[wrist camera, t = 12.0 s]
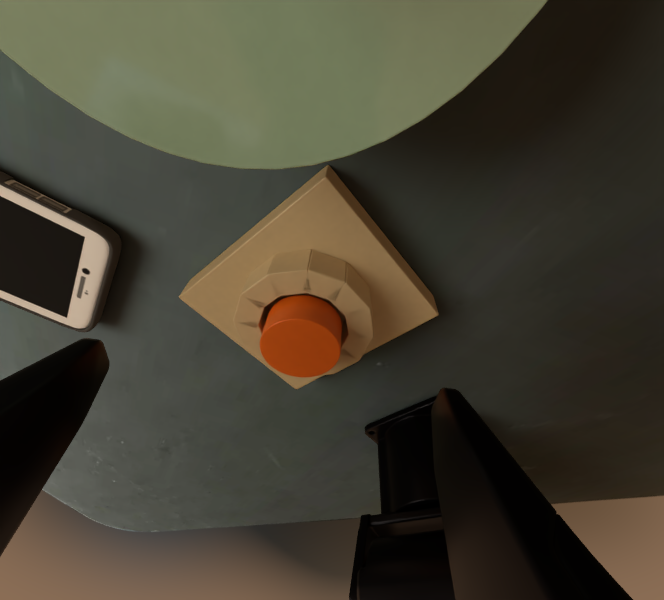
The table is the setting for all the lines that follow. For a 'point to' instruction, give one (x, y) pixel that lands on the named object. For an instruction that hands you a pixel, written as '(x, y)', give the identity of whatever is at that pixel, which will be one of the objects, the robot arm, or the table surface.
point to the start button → (302, 336)
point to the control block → (313, 274)
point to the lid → (259, 68)
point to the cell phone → (54, 258)
